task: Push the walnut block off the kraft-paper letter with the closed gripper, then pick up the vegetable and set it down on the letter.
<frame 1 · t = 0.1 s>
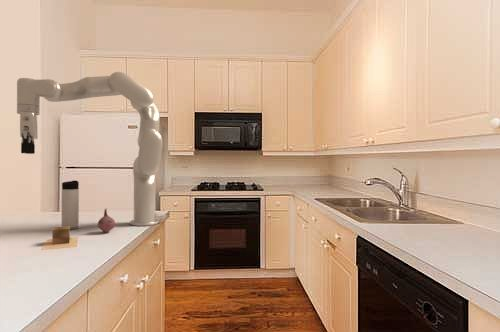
hand: (28, 153, 134), 31 cm above the countertop, tool pointing down, fingers open, 9 cm apart
letter: (61, 243, 116), on the countertop
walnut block: (61, 242, 117), resting on letter
travel mug: (70, 229, 141), on the countertop
vegetable: (106, 233, 133), on the countertop
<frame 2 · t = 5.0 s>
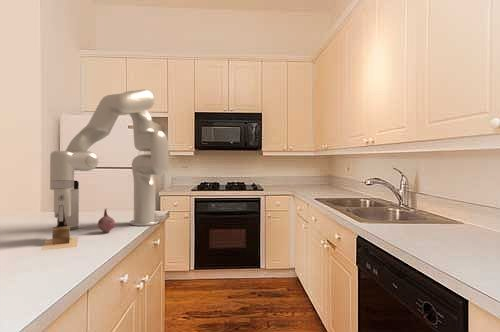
hand: (61, 235, 121), 1 cm above the countertop, tool pointing down, fingers closed
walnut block: (61, 242, 117), resting on letter, touching gripper
everything else where it was.
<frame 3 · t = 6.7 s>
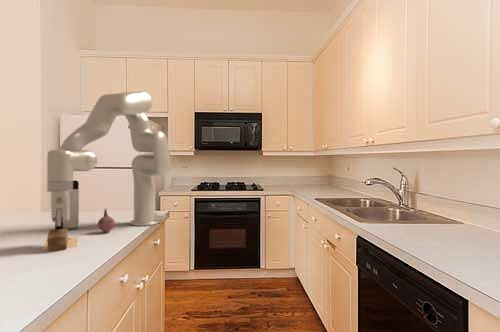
hand: (59, 241, 112), 2 cm above the countertop, tool pointing down, fingers closed
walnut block: (58, 246, 109), point 1 cm above the countertop, tilted 19°, touching gripper
everything else where it was.
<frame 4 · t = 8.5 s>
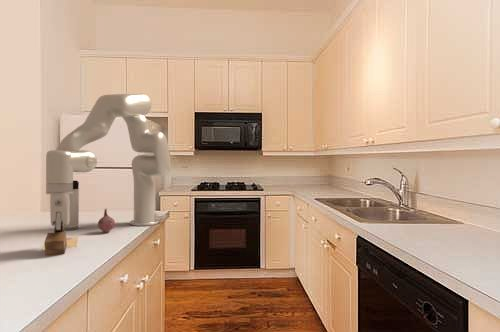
hand: (59, 245, 108), 1 cm above the countertop, tool pointing down, fingers closed
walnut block: (56, 250, 104), point 1 cm above the countertop, tilted 19°, touching gripper
everything else where it was.
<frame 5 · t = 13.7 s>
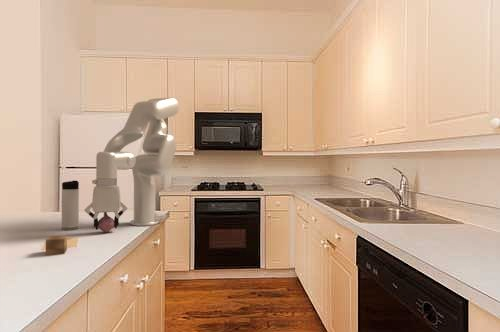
hand: (106, 227, 133), 2 cm above the countertop, tool pointing down, fingers closed on vegetable, 6 cm apart
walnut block: (56, 253, 104), on the countertop
vegetable: (106, 233, 133), on the countertop, touching gripper
everything else where it was.
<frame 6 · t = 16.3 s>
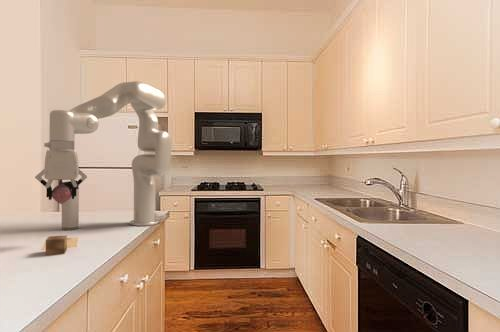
hand: (61, 198, 116), 16 cm above the countertop, tool pointing down, fingers closed on vegetable, 6 cm apart
vegetable: (61, 205, 116), point 13 cm above the countertop, touching gripper
everything else where it was.
when the fingers open (4 cm above the countertop, at t = 19.0 s): vegetable drops 1 cm, resting on letter.
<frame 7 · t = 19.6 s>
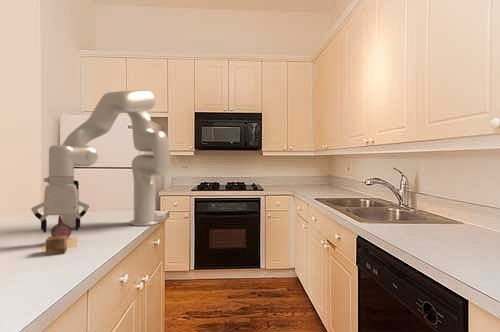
hand: (61, 230, 116), 4 cm above the countertop, tool pointing down, fingers open, 9 cm apart
vegetable: (60, 243, 116), resting on letter
everything else where it was.
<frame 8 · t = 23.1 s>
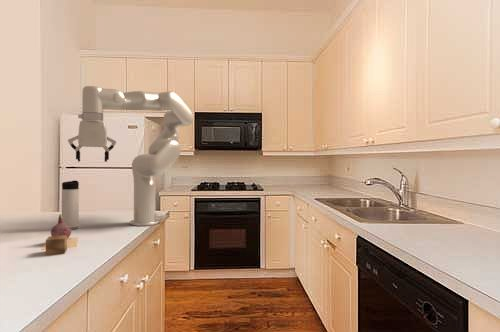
hand: (92, 161, 133), 28 cm above the countertop, tool pointing down, fingers open, 9 cm apart
nothing on the countertop moved.
at the end: vegetable inside the target area on the letter (0.1 cm from its centre), point 0.1 cm above the letter's base; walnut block moved 13.5 cm from its start; the gripper is holding nothing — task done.
